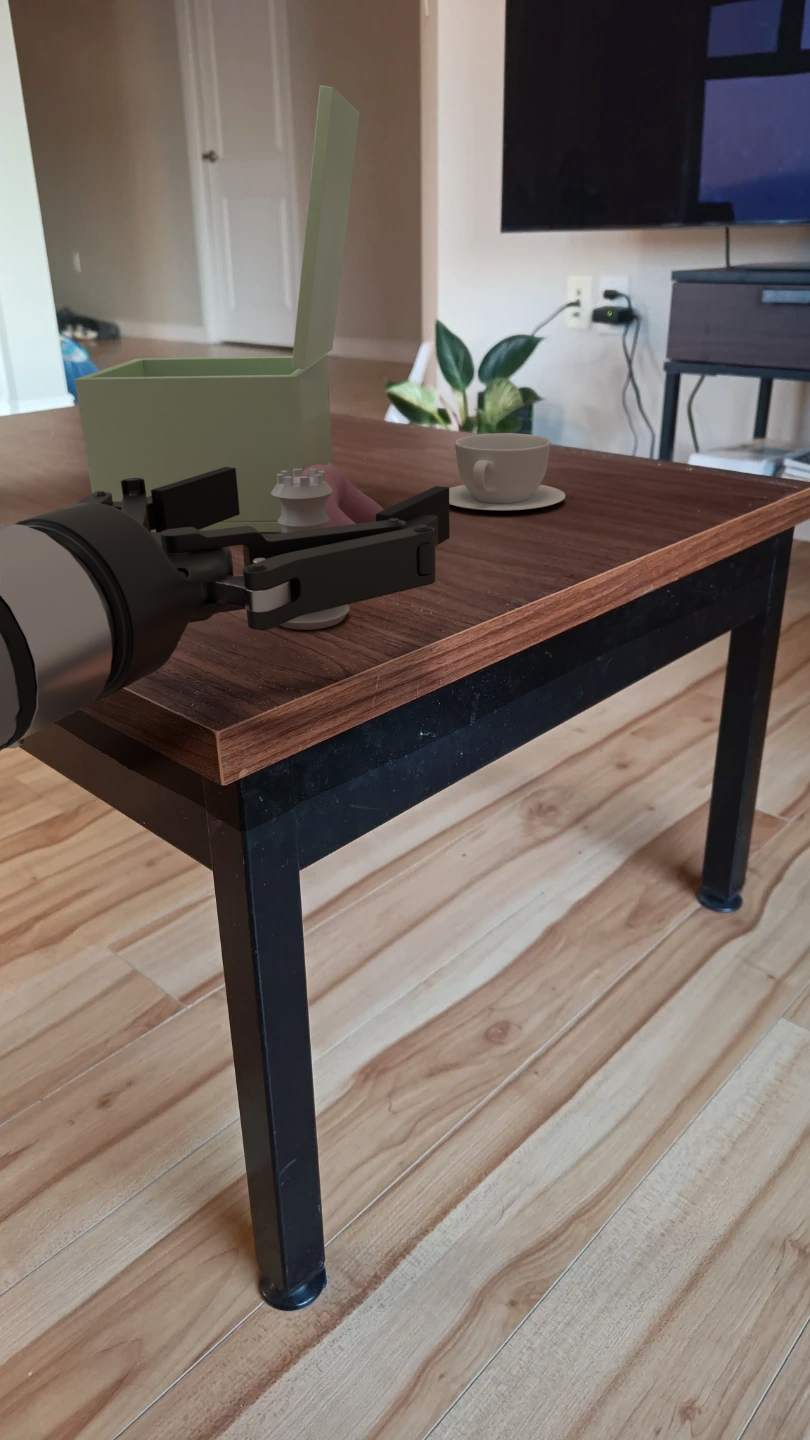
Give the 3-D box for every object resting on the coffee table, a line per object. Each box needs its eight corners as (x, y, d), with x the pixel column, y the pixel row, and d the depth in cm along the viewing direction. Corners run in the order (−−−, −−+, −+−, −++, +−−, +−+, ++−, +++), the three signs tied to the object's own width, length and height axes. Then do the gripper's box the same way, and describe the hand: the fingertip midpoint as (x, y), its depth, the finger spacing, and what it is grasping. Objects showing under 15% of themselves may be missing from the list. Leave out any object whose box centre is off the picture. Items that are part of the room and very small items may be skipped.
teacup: (468, 484, 88) (468, 427, 86) (581, 493, 84) (584, 434, 82) (417, 510, 80) (416, 448, 78) (540, 521, 75) (542, 456, 74)
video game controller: (339, 555, 74) (289, 468, 72) (395, 526, 73) (346, 437, 70) (325, 598, 65) (268, 501, 63) (388, 566, 64) (333, 465, 62)
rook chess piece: (308, 637, 54) (298, 485, 51) (253, 620, 57) (240, 475, 54) (367, 615, 57) (361, 471, 54) (311, 600, 60) (302, 461, 57)
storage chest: (97, 532, 75) (74, 378, 71) (153, 491, 88) (136, 358, 83) (307, 532, 74) (298, 375, 70) (334, 491, 86) (327, 355, 82)
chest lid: (319, 84, 62) (333, 87, 62) (348, 110, 75) (359, 112, 75) (291, 367, 69) (303, 369, 69) (321, 348, 82) (332, 350, 82)
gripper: (-139, 657, 47) (163, 543, 64) (327, 766, 36) (542, 594, 53) (-182, 493, 44) (148, 419, 61) (314, 559, 33) (547, 446, 50)
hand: (332, 500), depth 57 cm, fingers open, 13 cm apart
